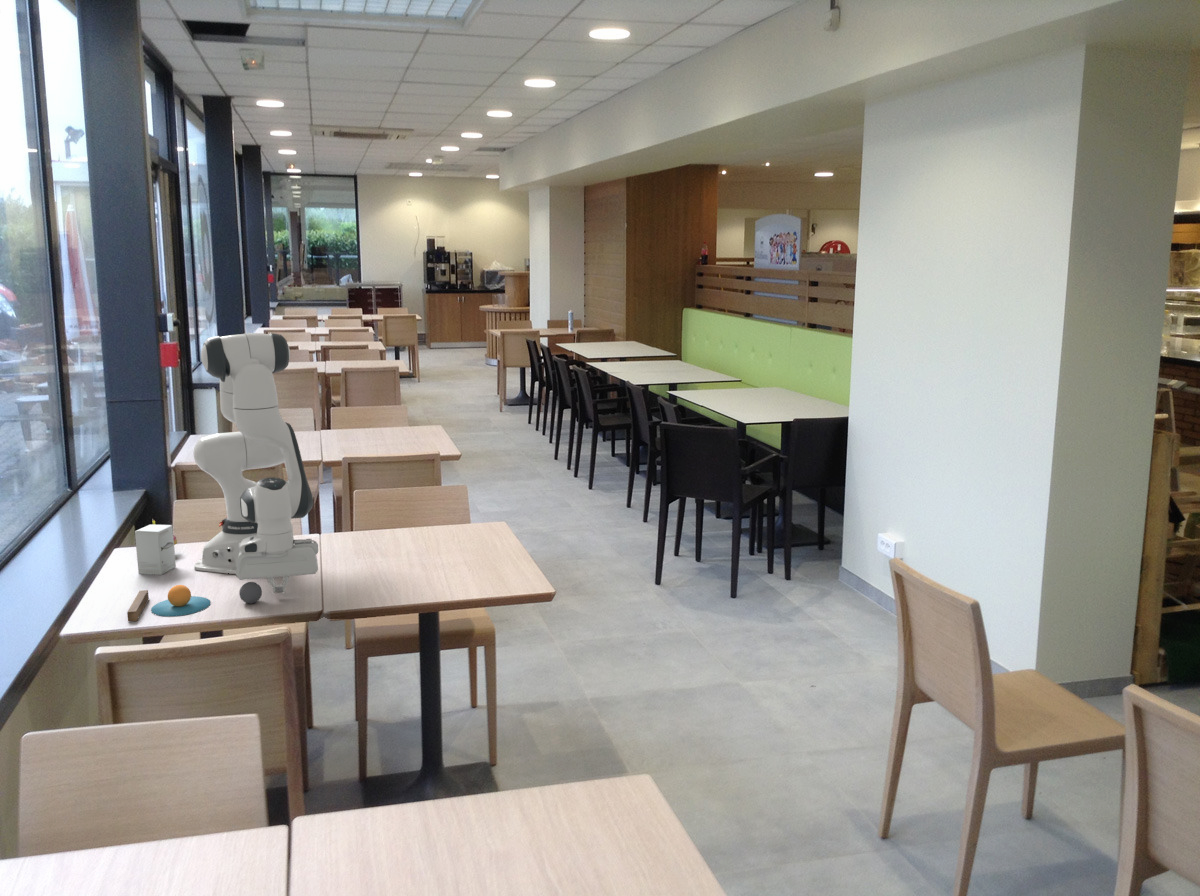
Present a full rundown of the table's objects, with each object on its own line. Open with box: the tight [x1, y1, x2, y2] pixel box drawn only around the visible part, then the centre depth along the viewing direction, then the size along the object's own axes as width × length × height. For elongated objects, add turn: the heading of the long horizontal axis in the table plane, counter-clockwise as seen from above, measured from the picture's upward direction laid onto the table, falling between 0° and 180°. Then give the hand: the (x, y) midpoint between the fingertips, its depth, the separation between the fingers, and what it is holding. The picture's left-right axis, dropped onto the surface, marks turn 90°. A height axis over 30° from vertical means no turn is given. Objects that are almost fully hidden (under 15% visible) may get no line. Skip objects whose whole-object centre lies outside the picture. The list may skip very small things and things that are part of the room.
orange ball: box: [167, 584, 192, 607], centre depth 253 cm, size 6×6×6 cm
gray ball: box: [238, 581, 263, 604], centre depth 255 cm, size 6×6×6 cm
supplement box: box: [134, 524, 177, 576], centre depth 280 cm, size 7×7×13 cm
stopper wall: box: [126, 589, 150, 622], centre depth 250 cm, size 2×16×2 cm, turn 14°
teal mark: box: [150, 595, 211, 617], centre depth 253 cm, size 14×14×1 cm
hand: (279, 592), depth 258 cm, fingers closed
